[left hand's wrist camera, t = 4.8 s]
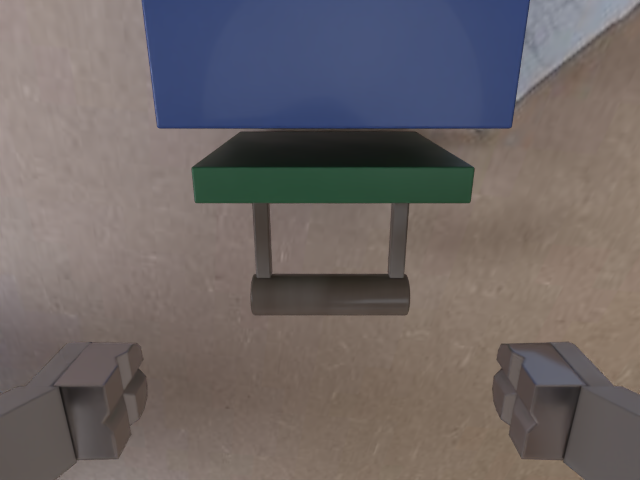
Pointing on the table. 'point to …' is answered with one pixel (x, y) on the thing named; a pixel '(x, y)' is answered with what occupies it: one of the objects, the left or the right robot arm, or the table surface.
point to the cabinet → (335, 63)
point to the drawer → (331, 187)
